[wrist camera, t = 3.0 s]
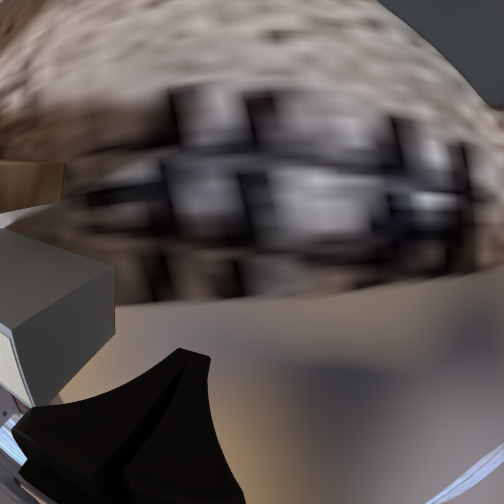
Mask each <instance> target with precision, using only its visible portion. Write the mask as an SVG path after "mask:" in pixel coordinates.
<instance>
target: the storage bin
mask: <svg viewBox="0 0 504 504" xmlns="http://www.w3.org/2000/svg"><path fill="white" fill-rule="evenodd" d="M377 1H378V2H379V3H380V4H382V5H383V6H384V7H386V8H387V9H389V10H390V11H391V12H393V13H394V14H395V15H397V16H398V17H399V18H401V19H402V20H403V21H405V22H406V23H407V24H408V25H410V26H411V27H412V28H413V29H414V30H416V31H417V32H418V33H419V34H420V35H422V36H423V37H424V38H425V39H426V40H427V41H428V42H430V43H431V44H432V45H433V46H434V47H435V48H436V49H437V50H438V51H439V52H440V53H441V54H442V55H444V56H445V57H446V58H447V59H448V60H449V62H450V63H451V64H452V65H453V66H454V67H455V68H456V69H457V70H458V71H459V72H460V73H461V74H462V75H463V76H464V77H465V78H466V80H467V81H468V82H469V83H470V84H471V85H472V87H473V88H474V89H475V90H476V91H477V93H478V94H479V95H480V96H481V97H482V98H483V99H484V100H485V101H486V102H487V103H488V104H490V105H491V106H494V107H503V106H504V0H377Z"/></svg>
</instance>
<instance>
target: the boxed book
mask: <svg viewBox="0 0 504 504" xmlns="http://www.w3.org/2000/svg"><path fill="white" fill-rule="evenodd" d="M114 290H115V266H113V265H110V264H107V263H104V262H101V261H98V260H94V259H91V258H88V257H85V256H82V255H79V254H76V253H73V252H70V251H67V250H64V249H61V248H58V247H56V246H53V245H50V244H47V243H44V242H41V241H39V240H36V239H33V238H30V237H28V236H25V235H22V234H20V233H17V232H14V231H12V230H9V229H7V228H1V229H0V384H1V385H2V386H3V387H4V388H5V389H6V390H8V391H9V392H10V393H11V394H13V395H14V396H15V397H16V398H18V399H19V400H20V401H21V402H23V403H24V404H25V405H27V406H28V407H29V408H32V407H37V406H47V405H48V404H49V403H50V402H51V400H52V399H53V398H54V397H55V396H56V395H57V394H58V393H59V392H60V391H61V390H62V389H63V388H64V386H65V385H66V384H67V383H68V382H69V381H70V380H71V379H72V378H73V377H74V376H75V375H76V374H77V372H79V370H81V368H82V367H83V366H84V365H85V364H86V363H87V362H88V361H89V360H90V359H91V358H92V357H93V356H94V355H95V354H96V353H97V352H98V351H99V350H100V349H101V348H102V347H103V346H104V345H105V344H106V343H107V342H108V341H109V340H110V339H111V338H112V337H113V336H114V335H115V307H114Z"/></svg>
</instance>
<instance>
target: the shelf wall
mask: <svg viewBox="0 0 504 504" xmlns="http://www.w3.org/2000/svg"><path fill="white" fill-rule="evenodd" d="M64 166H65V164H61V163H51V162H40V161H28V160H13V159H0V214H1V213H5V212H10V211H15V210H20V209H25V208H30V207H35V206H41V205H46V204H52V203H58V202H60V201H61V191H62V182H63V174H64Z"/></svg>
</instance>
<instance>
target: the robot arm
mask: <svg viewBox="0 0 504 504" xmlns="http://www.w3.org/2000/svg"><path fill="white" fill-rule="evenodd" d="M210 361H211V358H210V357H209V356H207V355H203V354H199V353H196V352H192V351H189V350H185V349H182V348H178V349H176V350H175V351H174V352H172V353H171V354H170V355H169V356H167V357H166V358H165V359H163V360H162V361H161V362H159V363H158V364H157V365H155V366H154V367H153V368H151V369H149V370H148V371H146V372H145V373H143V374H142V375H140V376H138V377H136V378H135V379H133V380H131V381H129V382H128V383H126V384H124V385H122V386H120V387H117V388H116V389H113V390H111V391H108V392H106V393H103V394H100V395H98V396H95V397H92V398H88V399H85V400H81V401H76V402H72V403H66V404H60V405H51V406H37V407H32V408H31V409H30V410H29V411H27V412H26V413H25V415H24V416H23V417H22V418H21V419H20V420H19V421H18V422H17V423H16V425H15V426H14V427H13V428H12V429H11V431H12V436H13V438H14V440H15V441H16V443H17V444H18V446H19V447H20V449H21V450H22V452H23V453H24V455H25V456H26V458H27V461H26V462H25V463H24V465H23V466H21V465H20V464H19V463H17V462H16V461H15V460H14V459H13V458H11V457H10V456H9V455H8V454H7V453H6V452H4V451H3V450H2V449H1V448H0V504H40V503H39V502H38V501H37V500H36V499H35V498H34V497H33V496H31V495H30V494H29V493H28V492H26V491H25V490H24V489H23V488H22V487H21V485H22V486H24V487H25V488H26V489H27V490H29V491H30V492H32V493H33V494H34V495H35V496H37V497H38V498H40V499H41V500H42V501H44V502H46V503H47V504H246V502H245V498H244V494H243V491H242V489H241V488H240V486H239V484H238V483H237V481H236V479H235V477H234V476H233V474H232V472H231V470H230V468H229V466H228V464H227V462H226V459H225V457H224V454H223V452H222V449H221V447H220V445H219V442H218V439H217V436H216V432H215V429H214V425H213V421H212V417H211V412H210V406H209V398H208V385H207V379H208V373H209V367H210ZM13 414H15V415H17V416H18V417H19V416H20V415H21V414H20V412H19V410H18V408H17V406H16V404H15V401H14V399H13V397H12V395H11V393H10V392H9V391H8V390H6V389H5V388H4V387H3V386H2V385H1V384H0V428H1V427H2V426H3V425H4V424H5V423H6V422H7V421H8V420H9V418H10V417H11V416H12V415H13ZM20 484H21V485H20Z"/></svg>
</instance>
